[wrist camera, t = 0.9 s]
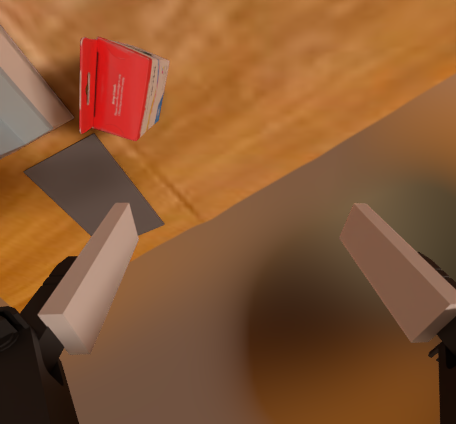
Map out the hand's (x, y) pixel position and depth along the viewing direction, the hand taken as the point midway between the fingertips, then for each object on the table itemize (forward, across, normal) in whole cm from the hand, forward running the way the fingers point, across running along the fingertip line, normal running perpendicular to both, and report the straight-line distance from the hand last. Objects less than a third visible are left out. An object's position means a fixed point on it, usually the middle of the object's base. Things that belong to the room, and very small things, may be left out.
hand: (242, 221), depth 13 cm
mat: (+26, -23, -15) cm, 38 cm away
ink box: (+27, -11, +4) cm, 29 cm away
